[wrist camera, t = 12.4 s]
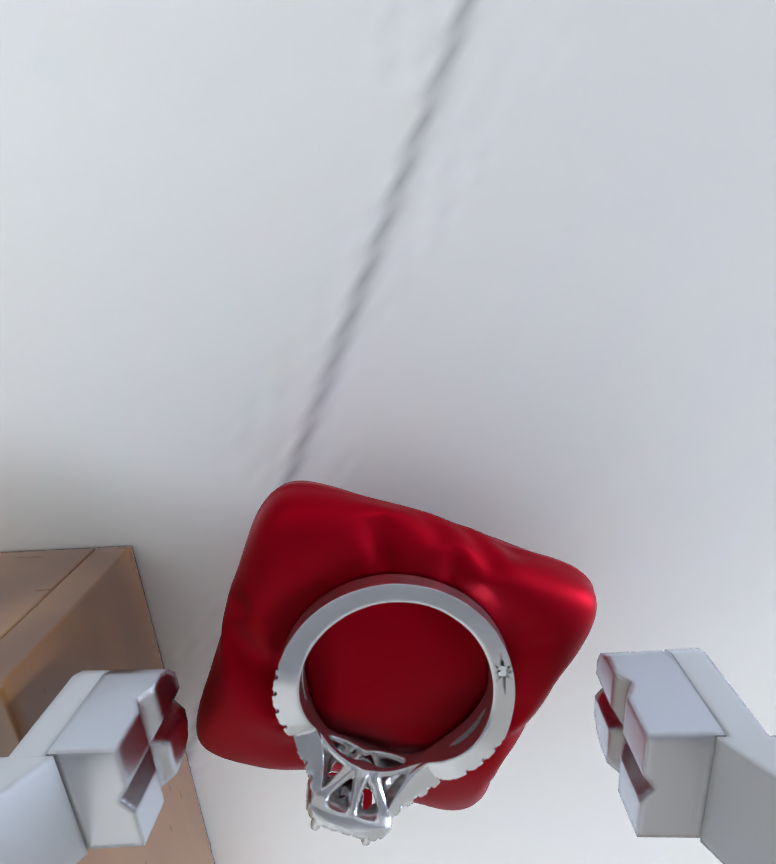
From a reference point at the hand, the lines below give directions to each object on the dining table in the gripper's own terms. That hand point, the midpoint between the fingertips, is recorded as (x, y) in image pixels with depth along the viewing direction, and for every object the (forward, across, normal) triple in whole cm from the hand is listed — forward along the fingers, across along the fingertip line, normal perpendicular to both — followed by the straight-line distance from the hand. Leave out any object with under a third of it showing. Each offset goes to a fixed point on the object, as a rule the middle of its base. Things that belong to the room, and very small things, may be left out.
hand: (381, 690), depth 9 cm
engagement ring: (+2, 0, 0) cm, 2 cm away
